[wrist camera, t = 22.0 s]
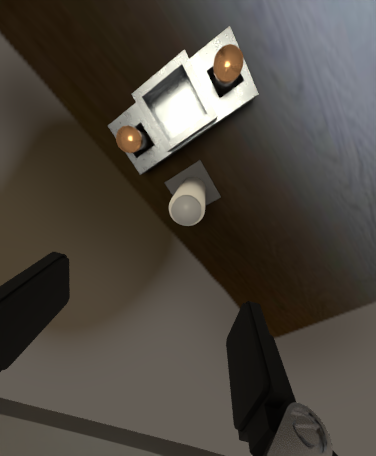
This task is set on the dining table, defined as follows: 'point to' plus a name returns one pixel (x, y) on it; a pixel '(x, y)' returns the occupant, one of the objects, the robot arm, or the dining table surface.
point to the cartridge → (188, 202)
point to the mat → (200, 173)
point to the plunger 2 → (227, 67)
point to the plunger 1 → (132, 139)
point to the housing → (183, 103)
